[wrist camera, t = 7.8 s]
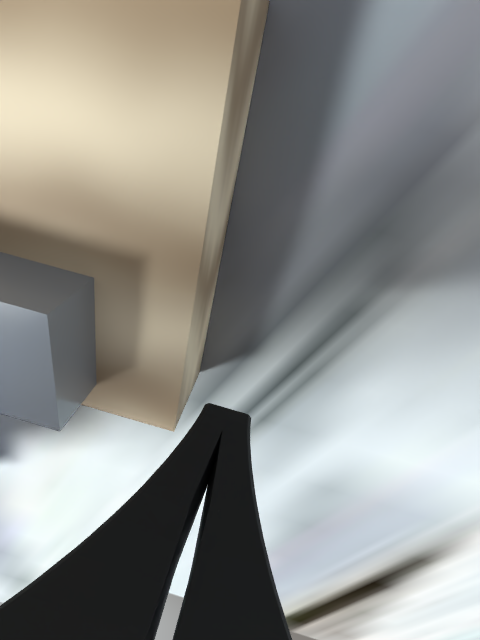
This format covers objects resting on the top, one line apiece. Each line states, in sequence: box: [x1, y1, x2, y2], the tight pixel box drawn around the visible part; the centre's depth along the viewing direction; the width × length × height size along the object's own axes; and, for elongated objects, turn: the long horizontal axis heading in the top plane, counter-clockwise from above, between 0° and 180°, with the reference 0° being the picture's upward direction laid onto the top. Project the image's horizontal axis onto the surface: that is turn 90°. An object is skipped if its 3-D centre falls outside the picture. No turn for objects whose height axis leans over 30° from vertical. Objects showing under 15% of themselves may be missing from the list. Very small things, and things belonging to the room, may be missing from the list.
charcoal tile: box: [0, 252, 97, 431], centre depth 12 cm, size 5×5×2 cm
